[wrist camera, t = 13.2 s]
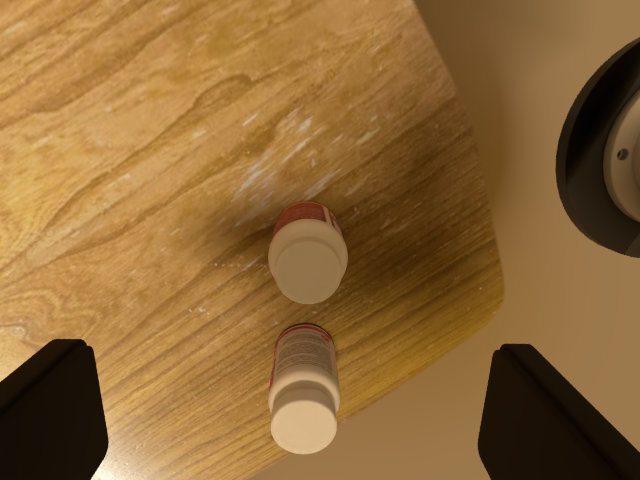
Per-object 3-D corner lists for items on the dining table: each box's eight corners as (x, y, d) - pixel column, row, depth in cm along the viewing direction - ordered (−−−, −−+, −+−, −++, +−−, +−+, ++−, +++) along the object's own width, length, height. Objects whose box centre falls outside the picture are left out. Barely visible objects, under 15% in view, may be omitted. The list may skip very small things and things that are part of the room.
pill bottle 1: (263, 242, 28) (246, 288, 20) (295, 187, 27) (291, 213, 19) (318, 272, 29) (322, 329, 21) (351, 221, 28) (369, 259, 20)
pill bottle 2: (264, 336, 30) (249, 413, 22) (318, 313, 30) (323, 382, 22) (291, 382, 31) (285, 470, 23) (343, 360, 31) (356, 442, 23)
